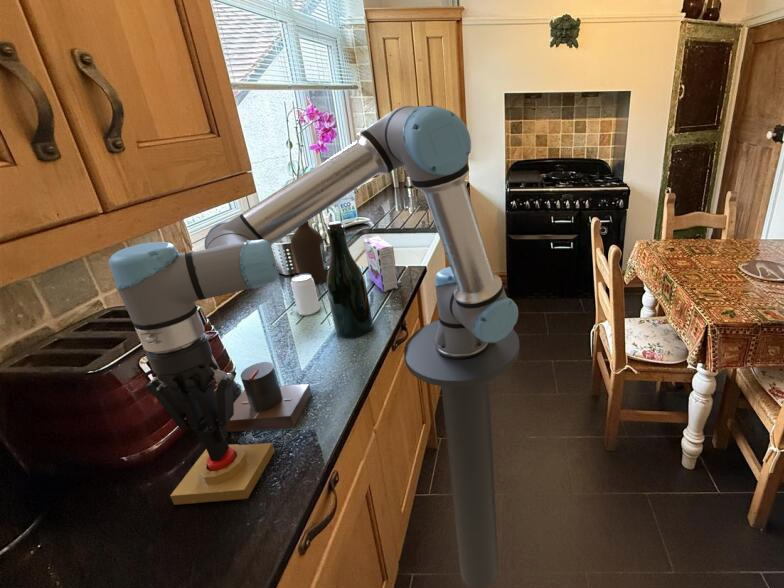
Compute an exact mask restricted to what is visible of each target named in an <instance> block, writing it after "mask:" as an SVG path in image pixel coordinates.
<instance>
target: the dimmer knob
mask: <svg viewBox="0 0 784 588" xmlns="http://www.w3.org/2000/svg"><path fill="white" fill-rule="evenodd" d="M240 379H241V382H242V386H243V388H244V389H243V390H245V392H246V395H247V398H248V401H249V404H250V407H251V409H252V410H254V411H264V410H267V409H270V408H272V407H274V406H275V405H277V404H278V403H279V402H280V401H281V399H282V393H281V389H280V386H281V385H280V383H279V379H278V376H277V372H276V369H275V365H274V364H273V363H272V362H269V361H262V362H257V363H254V364H252V365H249V366H248V367H245V368H244V370H242V372H241V373H240Z"/></svg>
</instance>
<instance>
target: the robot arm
mask: <svg viewBox="0 0 784 588" xmlns="http://www.w3.org/2000/svg"><path fill="white" fill-rule="evenodd" d="M471 151H472V139H471V134H470V132H469V129H468V127H467V126H466V123H465V122H464V121H463V120H462V118H461V117H460V116H458V114H456V113H454V111H451V110H450V109H447V108H443V107H440V106H437V105H418V106H417V105H415V106H414V105H406V106H399V107H398V108H395V109H392V110H391V111H390V112H388V113H387V114H385V115H384V116H383V117H381V118H379V119H377V121H375V122H374V123H372V124H371V125H369V126H368V127H367V128H365V129H364V130H362V131H359V133H357V134H356V138H355V142H352V143H351V144H350V145H348V146H347V147H345V148H344V149H341V150H340V151H339V152H337V153H335V154H334V155H332V156H331V157H329V158H327V159H326V160H325V161H323V162H321V163H319V164H317V166H315V167H313V168H311V169H310V170H308V171H307V172H305V173H304V174H302V175H301V176H299V177H297V178H296V179H293V181H291V182H289V183H288V184H286V185H284V186H283V187H282V188H280V189H278V190H277V191H275V192H274V193H272V194H270V195H269V196H267V197H266V198H264V199H262V200H261V201H259V202H257V203H256V204H254V205H253V206H251V207H250V208H248V209H246V210H245V211H243V212H242V213H241V214H239V215H237V216H235V217H233V218H232V219H230V220H228V221H227V220H225V221H221V222H218V223H216V224H215V225H213V226H212V227H211V228H210V229H209V230H208V232H207V234H206V236H205V238H204V249H201V250H197V251H189V252H181V253H179V250H177V248H176V246H175V245H174V244H173V243H171V242H167V241H157V242H145V243H144V242H143V243H139V244H135V245H131V246H128V247H125V248H121V249H119V250H118V251H116V252H114V253H113V254H111V257H110V258H109V259H108V265H109V268H110V271H111V275H112V277H113V280H114V284H115V289H116V290H117V292H118V294H119V296H120V298H121V300H122V302H123V304H124V307H125V309H126V311H127V313H128V315H129V317H130V320H131V322H132V325H133V327H134V329H135V332H136V334H137V336H138V339H139V341H140V343H141V345H142V348H143V350H144V351H146V353H145V356H146V359H147V360H148V362H149V365H150V368H151V370H152V372H153V373H154V374H155V375H156V376H155V377H153V378H152V379H151V380H150V381H149V382H148V383H146V384H145V385H144V390H145V391H146V392H148V393H149V394H150V395H152V396H154V397H155V399H157V401H158V402H159V404H160V405H161V406H162V407H163V408H164V409H163V410H165V411H166V412H167V414H168V415H169V416H170V418H171V420H172V421H174V423H175V424H176V425H177V427H178V428H179V429H180V430H182V431H185V430H187V429H191V431H193V433H196V436H197V439H198V441H199V443H200V444H201V445H204V446H205V450H206V449H207V452H208V454H209V457H210V459H211V461H220V460H221V459H222V457H223V456H224V455H225V453H226V452H227V450H228V449H229V446H228V445H229V444H228V441H227V437H228V435H229V432H227V430H226V428H225V425H226V424H227V423H228V422H229V420H230V419H231V418H232V416H233V415H234V404H233V403H234V380H235V378H236V377H237V372H236V371H235V370H233V369H232V370H231V369H230V370H229V371H228V372H226V371H223V370H221V369H219V366H218V365H217V364H216V362H215V361H214V359H213V350H212V347H211V344H210V341H209V338H208V335H207V333H205V326H204V323H203V320H202V318H201V315H200V313H199V310H198V308H197V305H196V302H198V301H203V300H207V299H210V298H215V297H220V296H224V295H228V294H233V293H237V292H243V291H247V290H250V289H252V290H253V289H257V288H259V287H262V286H267V285H270V284H273V283H275V282H277V281H278V279H279V276H280V275H279V270H278V266H277V262H276V257H275V253H274V252H273V248H272V245H274V244H276V243H277V242H278V241H280V240H282V239H283V238H284V237H287V236H288V235H290V234H291V233H292V232H294V231H296V230H297V229H298V227H300V226H301V225H302V224H304V223H305V222H307V221H308V222H309V221H310V220H311V219H313V218H315V217H316V216H317V215H319V214H321V213H322V212H323V211H325V210H326V209H328V208H330V207H332V205H335V203H337V202H338V201H340V200H342V199H343V198H344V197H346V196H348V195H349V194H350V193H352V192H353V191H355V190H357V189H358V188H359V187H361V186H363V185H364V184H366V183H367V182H368V181H370V180H371V179H373V178H375V177H376V176H377V175H379V174H382V175H388V174H390V173H391V172H393V171H394V170H396V169H398V168H401V167H404V166H405V168H406V171H407V174H408V176H409V179H410V182H411V185H412V186H413V188H414V189H416V190H419V191H421V192H422V193H423V195H424V198H425V200H426V203H427V206H428V208H429V209H428V210H429V211H430V213H431V216H432V219H433V222H434V225H435V228H436V231H437V233H438V236H439V239H440V242H441V244H442V248H443V250H444V253H445V256H446V258H447V261H448V264H449V266H447V267H445V268H442V269H440V270H439V271H438V272H436V274H435V279H434V283H435V284H434V287H435V294H436V303H437V304H436V305H437V311H438V312H437V313H438V320H439V325H438V329H437V333H436V337H435V349H436V351H437V353H438V354H439V355H441V356H443V357H445V358H448V359H453V360H464V359H469V358H473V357H476V356H478V355H480V354H482V353H483V352H484V351H485V350H486V349H487V348H488V346H489V343H494V342H497V341H500V340H501V339H503V338H504V337H506V336H507V335H508V334H509V333H510V332H511V331H512V329H513V330H514V327H515V325H516V324H517V323H518V319H519V307H518V305H517V304H516V302H515V301H514V300H513V299H511V298H509V297H508V296H507V294H506V291H505V287H504V284H503V281H502V278H501V277H500V276H499V275H497V274H496V273H493V270H492V266H491V263H490V260H489V256H488V254H487V250H486V246H485V244H484V239H483V236H482V233H481V230H480V228H479V223H478V220H477V216H476V213H475V210H474V207H473V204H472V200H471V197H470V194H469V193H470V192H469V191H468V186H467V184H466V178H467V176H468V174H469V172H470V167H469V163H468V160H469V155H470V154H471ZM214 380H215V383H214ZM214 387H216V392H215V389H214Z"/></svg>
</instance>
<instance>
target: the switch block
mask: <svg viewBox="0 0 784 588" xmlns="http://www.w3.org/2000/svg"><path fill="white" fill-rule="evenodd" d="M228 446H229V447H231V448H233V450H234V453H235V455H236V458H235V460H234V461H233V462H232V463H231V464H230V465H228V466H227V467H225V468H223V469H221V470H218V471H210V470H209V467H208V465H207V459H208V457H209V454H208V452H207V449H206V448H205V450H204V451H203V452H202V454H201V455H200V456H199V457H198V458H197V460H196V461H195V463H194V464H193V465H192V467H191V468H190V469H189V470H188V472H187V473H186V474H185V476H184V477H183V478H182V480H181V481H180V482H179V483H178V485H177V486H176V487H175V489H174V490H173V491H172V493H170V495H169V498H170V499H171V502H172V503H173V505H174V506H177V505H189V504H199V503H200V504H201V503H210V502H211V503H213V502H223V501H235V500H236V501H237V500H246V499H249V498H250V496H251V494H252V492H253V490H254V489H255V487H256V485H257V484H258V481H259V480H260V478H261V477H262V474H263V473H264V471H265V470H266V467H267V466H268V464H269V462H270V460H271V459H272V456H273V455H274V454H275V448H274V444H273V442H266V443H265V442H264V443H252V444H237V443H236V444H235V443H234V444H228Z"/></svg>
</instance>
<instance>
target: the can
mask: <svg viewBox="0 0 784 588" xmlns="http://www.w3.org/2000/svg"><path fill="white" fill-rule="evenodd" d="M290 286H291V289H292V295H293V298H294V302H295V307H296V310H297V314H299V315H300V316H302V317H303V316H304V317H306V316H312V315H315V314H316V313H318V312H319V311H320V309H321V306H320V302H319V296H318V292H317V288H316V284H315V283H314V280H313V278H312V277H311V275H310V274H300V273H299V274H297V275H294V276H293V277H291V282H290Z"/></svg>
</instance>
